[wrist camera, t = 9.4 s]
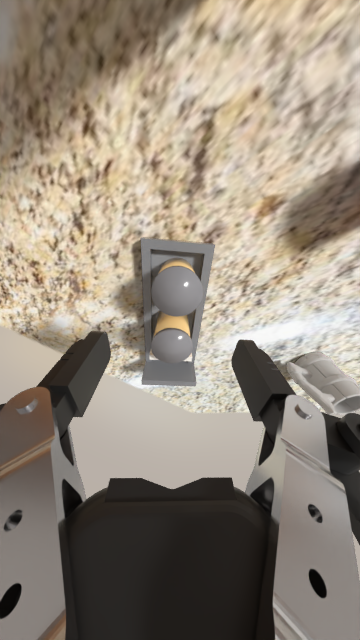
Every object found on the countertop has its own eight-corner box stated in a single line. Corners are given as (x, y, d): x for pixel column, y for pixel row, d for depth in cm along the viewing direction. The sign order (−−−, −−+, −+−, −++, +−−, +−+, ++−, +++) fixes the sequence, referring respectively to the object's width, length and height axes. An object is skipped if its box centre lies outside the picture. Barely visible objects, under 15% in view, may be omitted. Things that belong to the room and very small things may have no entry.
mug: (312, 376, 38) (363, 431, 28) (269, 369, 37) (306, 425, 26) (335, 353, 34) (403, 407, 24) (288, 344, 33) (339, 398, 23)
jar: (157, 255, 23) (150, 265, 16) (197, 257, 23) (206, 268, 16) (158, 292, 26) (152, 315, 19) (193, 294, 26) (199, 317, 19)
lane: (143, 237, 22) (132, 240, 16) (212, 243, 23) (223, 248, 17) (147, 359, 34) (141, 384, 28) (192, 361, 35) (195, 386, 29)
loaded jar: (157, 303, 27) (150, 330, 20) (190, 306, 27) (195, 332, 20) (156, 331, 30) (151, 362, 23) (186, 333, 30) (190, 364, 23)
